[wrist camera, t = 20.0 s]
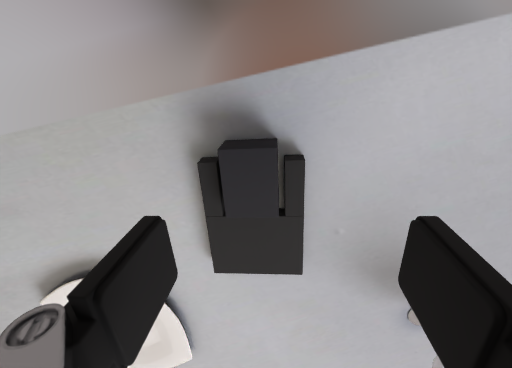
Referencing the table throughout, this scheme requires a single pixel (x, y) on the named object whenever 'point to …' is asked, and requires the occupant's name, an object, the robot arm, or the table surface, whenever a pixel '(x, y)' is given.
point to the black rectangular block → (250, 178)
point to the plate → (157, 342)
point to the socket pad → (255, 226)
